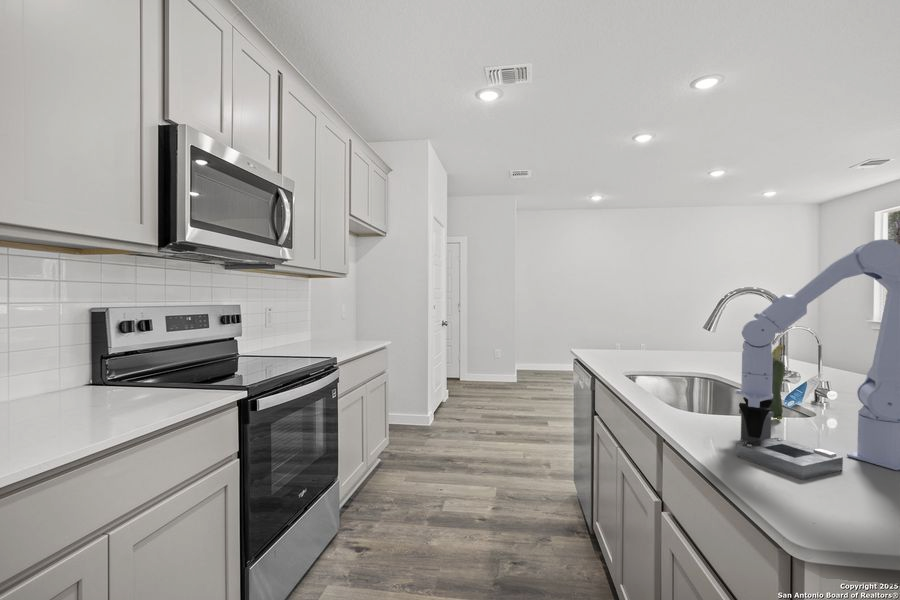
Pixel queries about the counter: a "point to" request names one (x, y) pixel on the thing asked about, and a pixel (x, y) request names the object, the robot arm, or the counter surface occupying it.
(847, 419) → the counter surface
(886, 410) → the robot arm
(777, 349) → the vegetable
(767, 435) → the plug
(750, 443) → the socket plate
